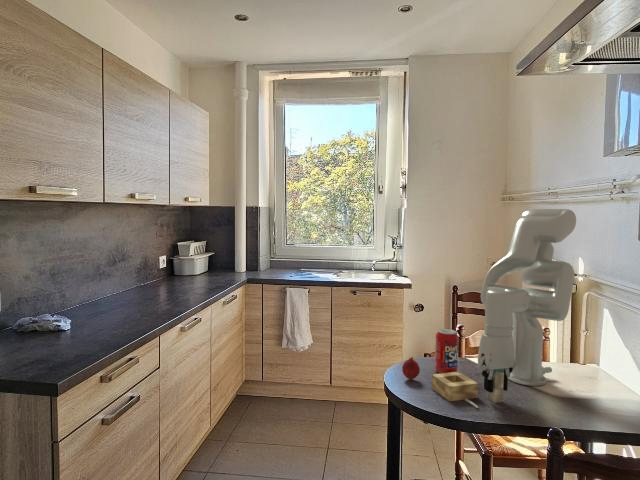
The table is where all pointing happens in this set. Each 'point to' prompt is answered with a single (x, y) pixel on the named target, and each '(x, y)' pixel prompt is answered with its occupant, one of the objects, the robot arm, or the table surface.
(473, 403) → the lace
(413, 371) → the onion
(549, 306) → the robot arm
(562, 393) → the table surface
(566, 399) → the table surface
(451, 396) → the wooden block
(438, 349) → the soda can
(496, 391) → the green capped spice bottle
